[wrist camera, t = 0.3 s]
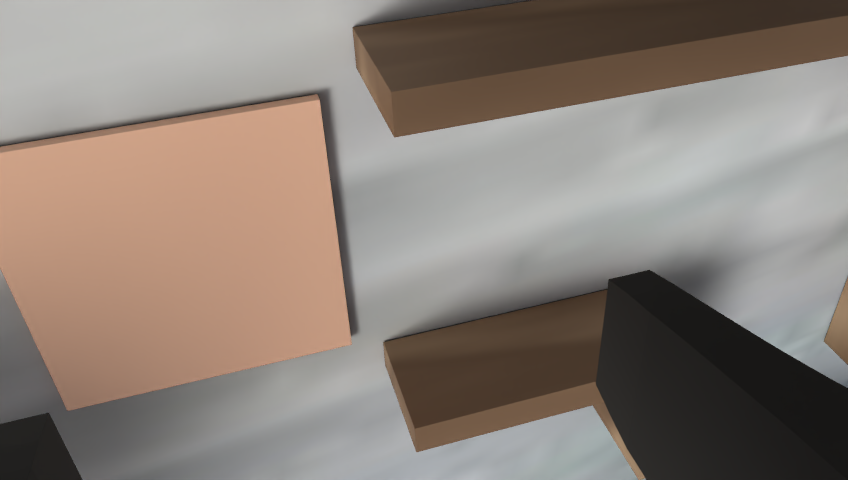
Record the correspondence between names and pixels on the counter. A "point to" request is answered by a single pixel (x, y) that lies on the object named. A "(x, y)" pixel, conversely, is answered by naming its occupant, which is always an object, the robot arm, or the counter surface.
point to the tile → (174, 248)
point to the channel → (537, 91)
